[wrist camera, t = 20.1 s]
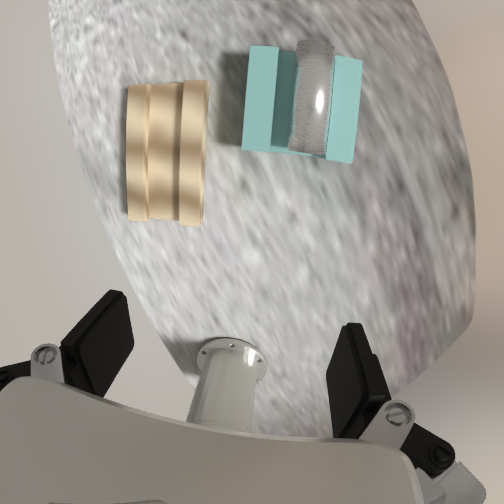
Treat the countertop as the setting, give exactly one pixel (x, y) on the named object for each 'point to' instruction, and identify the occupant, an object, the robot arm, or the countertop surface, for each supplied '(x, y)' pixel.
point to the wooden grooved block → (166, 151)
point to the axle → (311, 97)
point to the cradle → (280, 102)
